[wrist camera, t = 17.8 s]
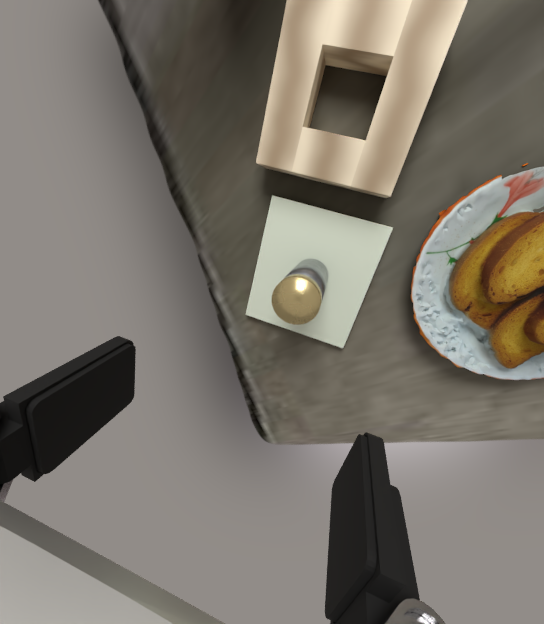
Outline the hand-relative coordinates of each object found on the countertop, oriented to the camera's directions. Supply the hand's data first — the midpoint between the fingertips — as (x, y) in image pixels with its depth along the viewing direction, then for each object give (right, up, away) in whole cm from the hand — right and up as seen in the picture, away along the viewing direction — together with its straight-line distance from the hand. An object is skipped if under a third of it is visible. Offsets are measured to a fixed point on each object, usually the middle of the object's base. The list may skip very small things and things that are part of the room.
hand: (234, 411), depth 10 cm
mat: (+7, +9, +28) cm, 30 cm away
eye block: (+10, +28, +20) cm, 36 cm away
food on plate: (+32, +8, +22) cm, 39 cm away
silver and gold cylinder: (+7, +9, +27) cm, 29 cm away
